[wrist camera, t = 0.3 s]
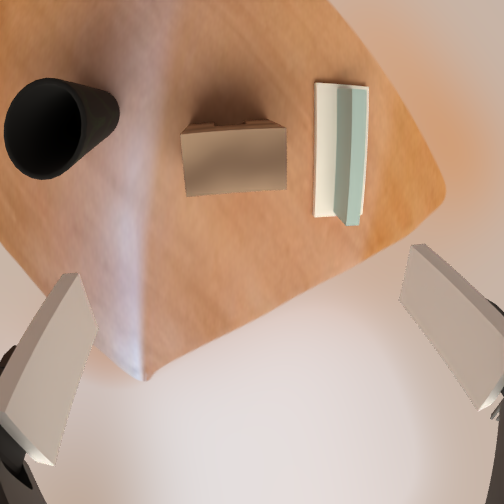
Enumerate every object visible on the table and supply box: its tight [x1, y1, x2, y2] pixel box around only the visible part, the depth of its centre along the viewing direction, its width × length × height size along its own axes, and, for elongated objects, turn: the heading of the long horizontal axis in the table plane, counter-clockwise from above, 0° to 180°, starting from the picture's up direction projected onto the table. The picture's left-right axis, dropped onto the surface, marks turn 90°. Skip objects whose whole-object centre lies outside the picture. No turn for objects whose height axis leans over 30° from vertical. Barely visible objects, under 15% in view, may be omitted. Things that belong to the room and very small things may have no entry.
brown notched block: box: [180, 119, 287, 197], centre depth 28 cm, size 5×8×9 cm, turn 92°
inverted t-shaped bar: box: [313, 83, 369, 226], centre depth 31 cm, size 15×6×5 cm, turn 2°
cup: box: [4, 78, 120, 180], centre depth 23 cm, size 8×8×12 cm
